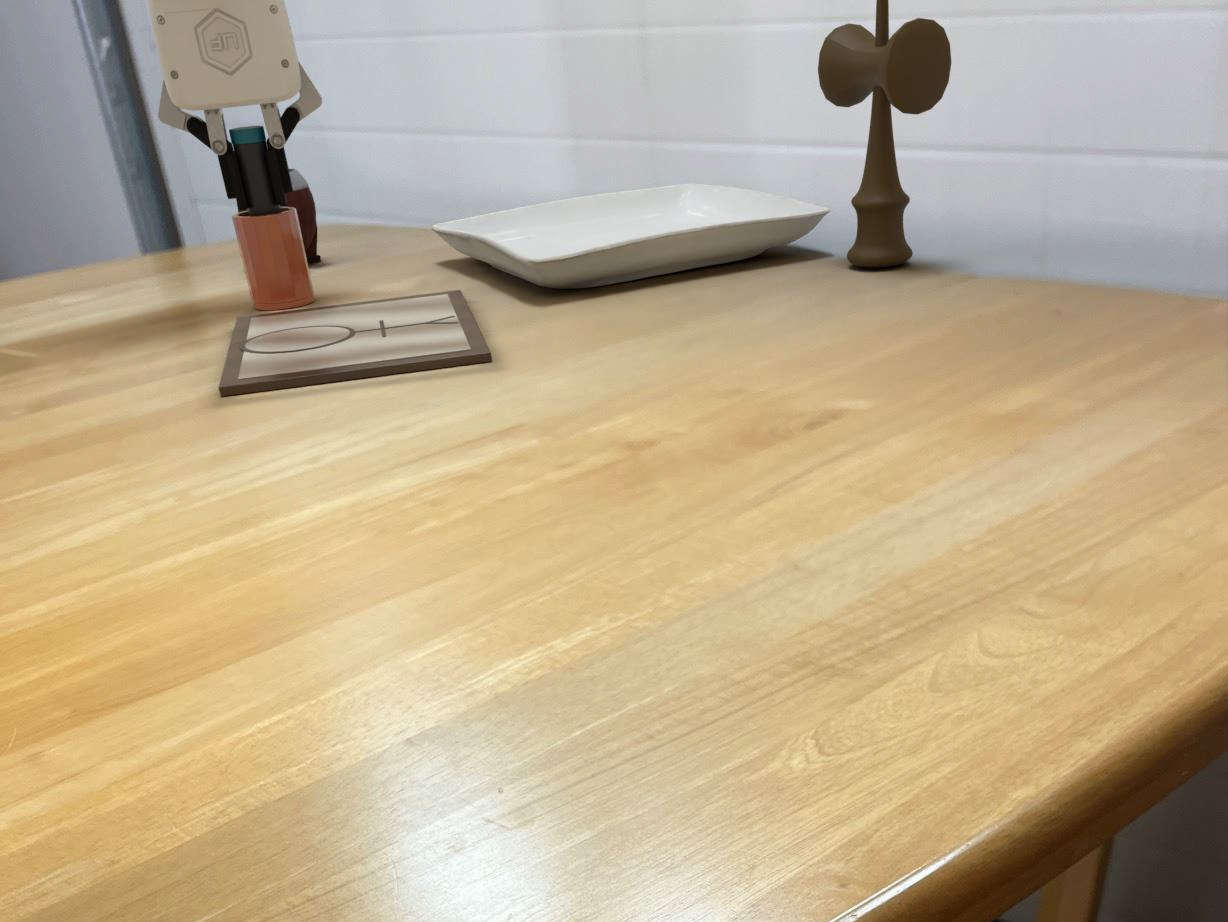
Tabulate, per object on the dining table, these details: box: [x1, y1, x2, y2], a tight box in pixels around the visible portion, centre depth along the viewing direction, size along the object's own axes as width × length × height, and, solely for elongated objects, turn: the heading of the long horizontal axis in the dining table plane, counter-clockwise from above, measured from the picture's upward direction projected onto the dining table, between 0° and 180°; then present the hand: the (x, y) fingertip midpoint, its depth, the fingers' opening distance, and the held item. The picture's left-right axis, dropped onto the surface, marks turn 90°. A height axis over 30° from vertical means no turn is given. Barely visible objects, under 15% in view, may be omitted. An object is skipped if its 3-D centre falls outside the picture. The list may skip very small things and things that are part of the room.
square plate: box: [431, 182, 832, 290], centre depth 118 cm, size 27×27×4 cm
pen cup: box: [231, 207, 316, 311], centre depth 112 cm, size 5×5×7 cm
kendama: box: [817, 0, 952, 268], centre depth 102 cm, size 6×10×20 cm, turn 31°
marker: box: [228, 125, 281, 216], centre depth 110 cm, size 3×3×12 cm
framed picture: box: [218, 289, 493, 397], centre depth 99 cm, size 24×18×1 cm
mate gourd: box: [236, 102, 322, 264], centre depth 126 cm, size 8×8×15 cm
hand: (262, 203), depth 110 cm, fingers closed on marker, 2 cm apart
